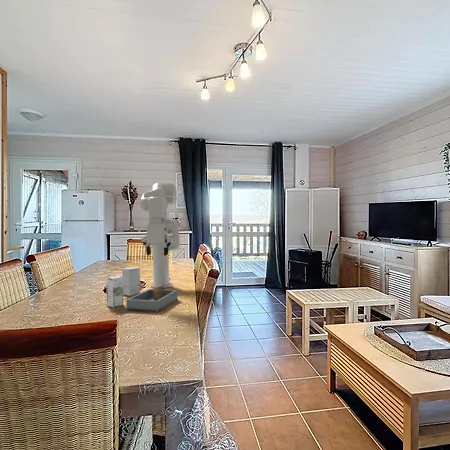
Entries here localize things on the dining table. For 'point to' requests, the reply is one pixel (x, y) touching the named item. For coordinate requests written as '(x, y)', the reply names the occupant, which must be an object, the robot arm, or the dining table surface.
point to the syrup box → (115, 291)
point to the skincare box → (131, 281)
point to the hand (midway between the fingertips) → (157, 255)
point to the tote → (150, 301)
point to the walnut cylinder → (158, 292)
